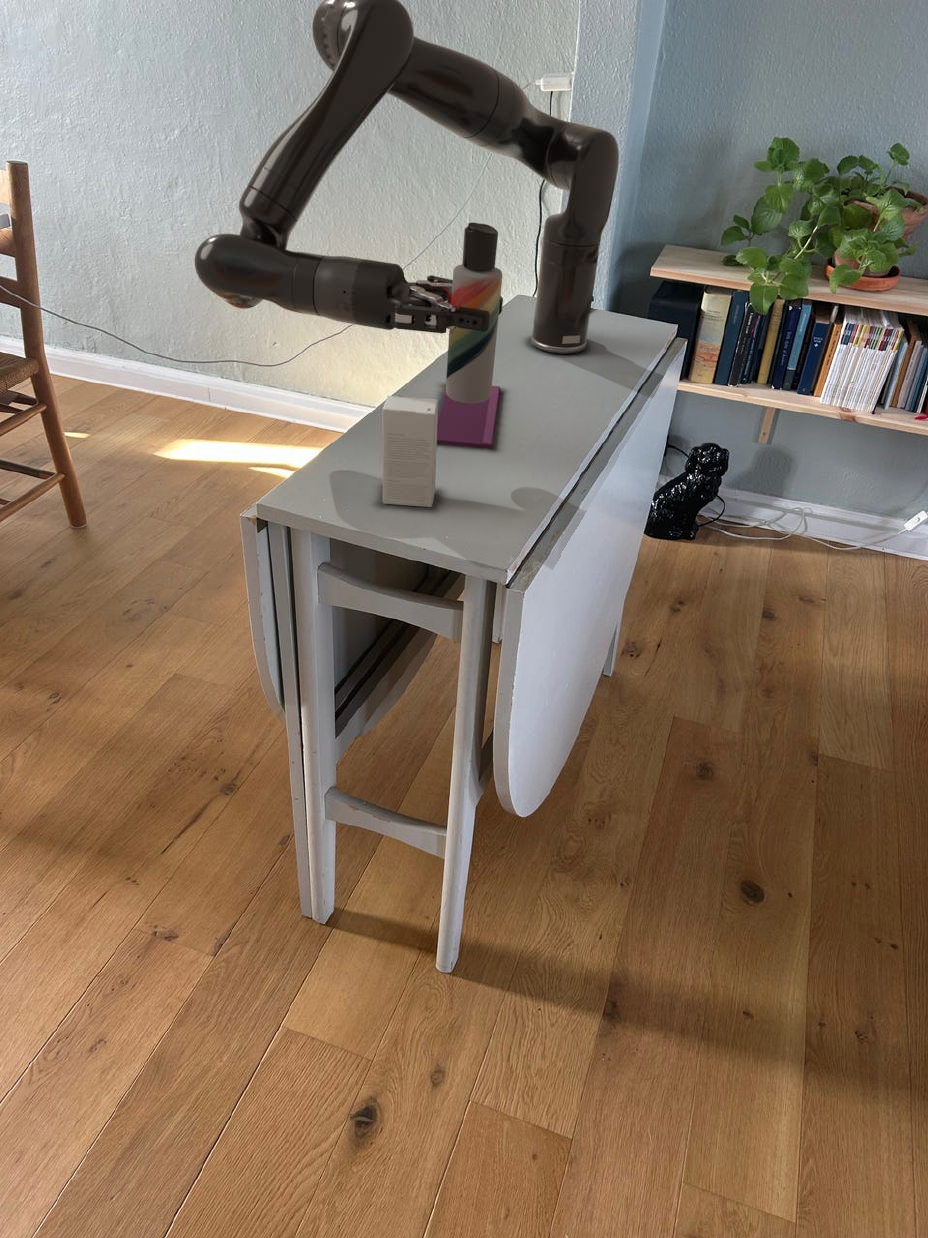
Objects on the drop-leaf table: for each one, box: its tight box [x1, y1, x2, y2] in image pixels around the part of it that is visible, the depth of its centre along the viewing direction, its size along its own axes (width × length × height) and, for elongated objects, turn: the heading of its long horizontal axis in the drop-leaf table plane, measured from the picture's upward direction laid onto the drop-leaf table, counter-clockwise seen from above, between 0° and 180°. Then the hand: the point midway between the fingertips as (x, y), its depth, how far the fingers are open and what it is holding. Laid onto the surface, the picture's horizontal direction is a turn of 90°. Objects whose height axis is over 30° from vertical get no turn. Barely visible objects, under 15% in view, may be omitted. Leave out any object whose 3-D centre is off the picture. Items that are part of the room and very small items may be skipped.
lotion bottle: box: [445, 222, 503, 403], centre depth 105 cm, size 6×6×20 cm
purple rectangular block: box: [437, 385, 502, 449], centre depth 127 cm, size 20×8×1 cm, turn 175°
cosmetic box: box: [381, 395, 439, 508], centre depth 104 cm, size 6×4×12 cm
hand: (495, 313), depth 105 cm, fingers closed on lotion bottle, 5 cm apart
